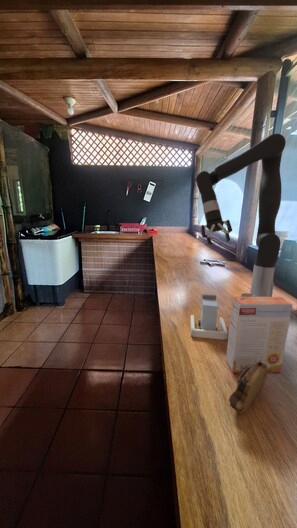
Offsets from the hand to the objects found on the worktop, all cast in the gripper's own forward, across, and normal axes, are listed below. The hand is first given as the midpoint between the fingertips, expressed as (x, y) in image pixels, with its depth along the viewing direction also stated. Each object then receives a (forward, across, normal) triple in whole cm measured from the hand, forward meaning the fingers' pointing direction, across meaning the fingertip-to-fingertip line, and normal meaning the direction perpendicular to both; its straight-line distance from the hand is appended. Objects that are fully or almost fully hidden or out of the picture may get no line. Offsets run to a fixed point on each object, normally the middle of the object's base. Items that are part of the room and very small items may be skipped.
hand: (219, 243), depth 114 cm
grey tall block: (+33, -18, -24) cm, 45 cm away
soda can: (+36, -3, -19) cm, 40 cm away
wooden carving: (+44, -18, -55) cm, 73 cm away
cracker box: (+42, -11, -43) cm, 61 cm away
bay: (+33, -18, -24) cm, 45 cm away
